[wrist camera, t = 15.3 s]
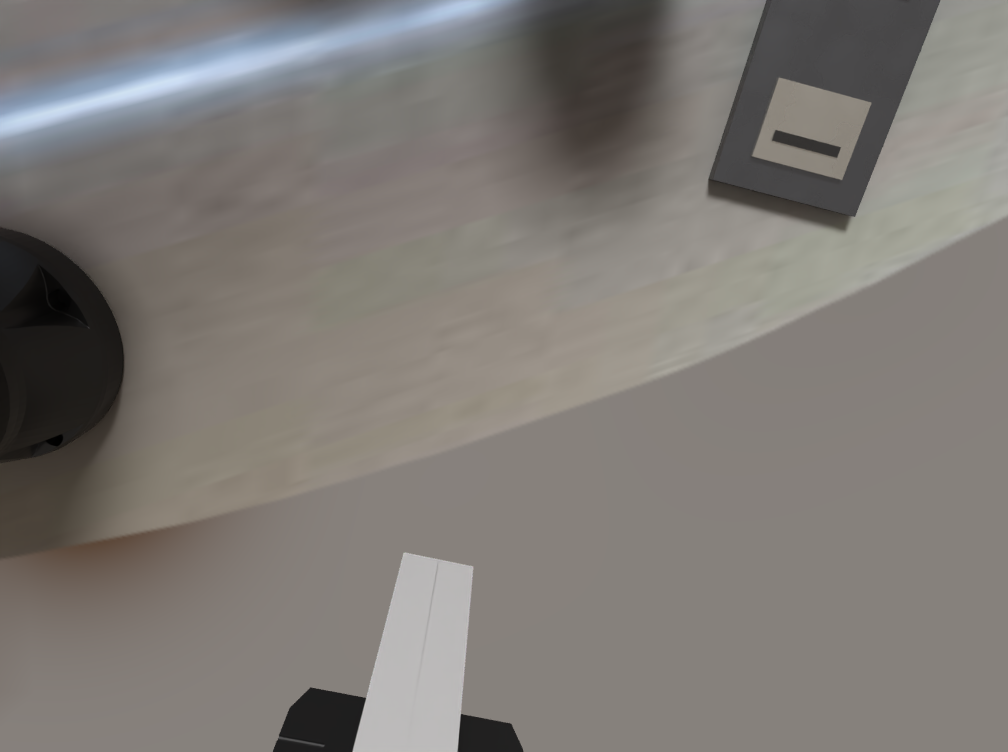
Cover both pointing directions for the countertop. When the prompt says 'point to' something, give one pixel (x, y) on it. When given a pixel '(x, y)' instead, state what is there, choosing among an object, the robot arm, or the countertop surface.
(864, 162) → the panel
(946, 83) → the countertop surface
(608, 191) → the countertop surface
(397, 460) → the countertop surface
